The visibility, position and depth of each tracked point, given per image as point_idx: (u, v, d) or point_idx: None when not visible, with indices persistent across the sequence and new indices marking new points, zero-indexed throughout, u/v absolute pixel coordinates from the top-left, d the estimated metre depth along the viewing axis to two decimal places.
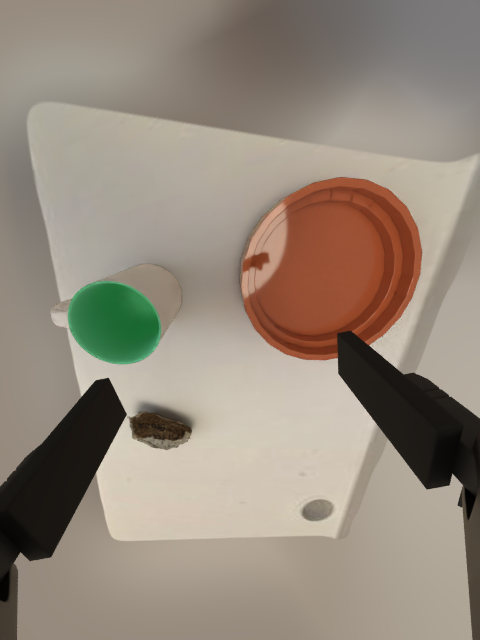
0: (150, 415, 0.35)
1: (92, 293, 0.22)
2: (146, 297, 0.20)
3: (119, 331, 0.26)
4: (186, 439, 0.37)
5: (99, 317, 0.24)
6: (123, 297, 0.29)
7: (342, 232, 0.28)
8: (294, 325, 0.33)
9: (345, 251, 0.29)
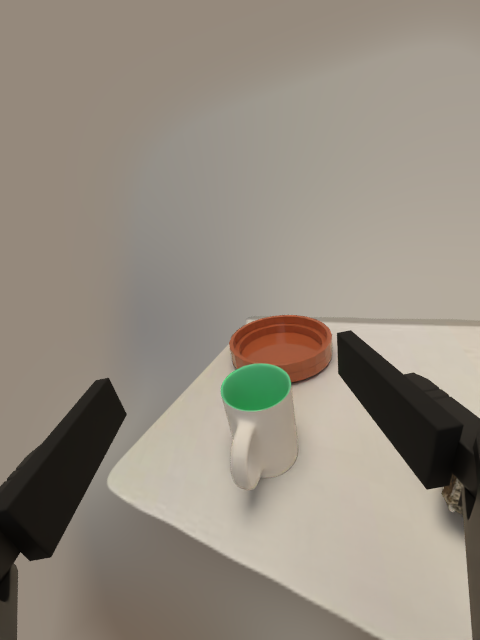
0: None
1: None
2: (243, 367, 0.30)
3: None
4: None
5: None
6: None
7: (259, 345, 0.54)
8: None
9: (269, 343, 0.53)
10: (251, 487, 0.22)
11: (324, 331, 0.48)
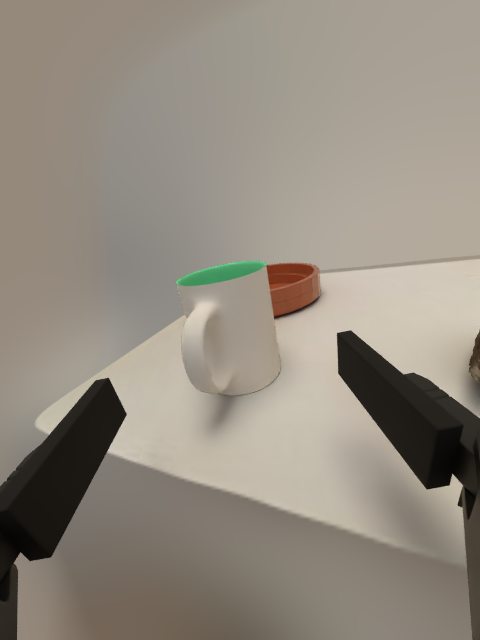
0: (472, 363, 0.16)
1: None
2: (209, 268, 0.24)
3: None
4: None
5: None
6: None
7: None
8: None
9: None
10: (213, 384, 0.16)
11: (311, 270, 0.43)
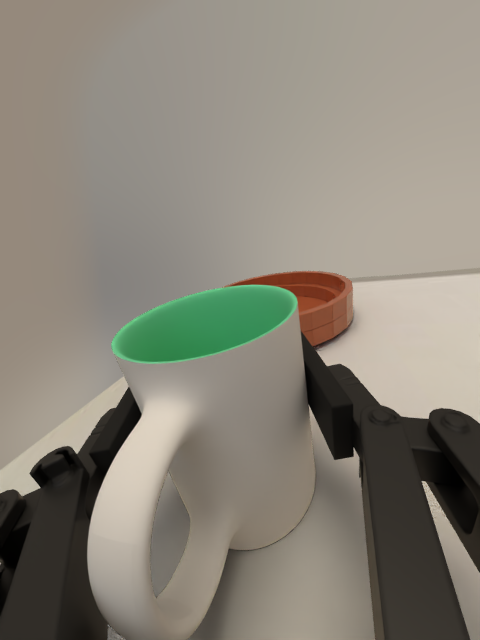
0: None
1: None
2: (189, 296, 0.14)
3: None
4: None
5: None
6: None
7: None
8: None
9: None
10: (182, 638, 0.06)
11: (338, 282, 0.32)
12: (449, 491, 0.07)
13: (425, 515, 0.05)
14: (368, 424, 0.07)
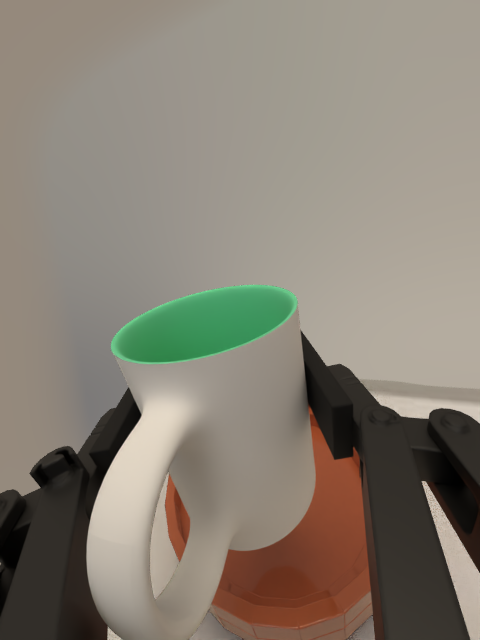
0: None
1: None
2: (189, 296, 0.14)
3: None
4: None
5: None
6: None
7: None
8: (354, 531, 0.19)
9: None
10: None
11: None
12: (449, 490, 0.07)
13: (425, 515, 0.05)
14: (368, 424, 0.07)
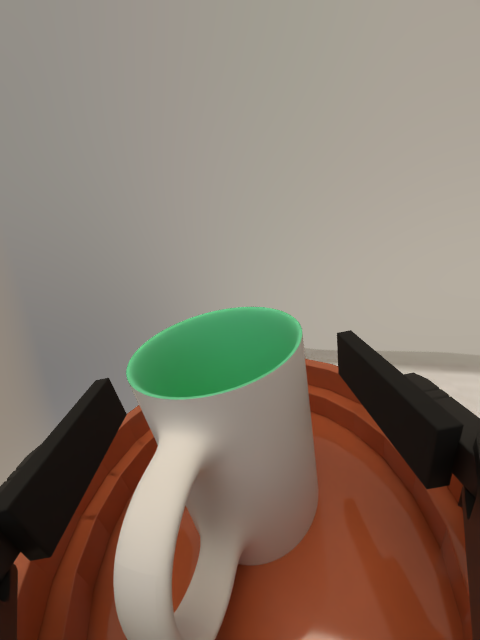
0: None
1: None
2: (196, 317, 0.15)
3: None
4: None
5: None
6: None
7: None
8: None
9: None
10: None
11: None
12: None
13: None
14: None
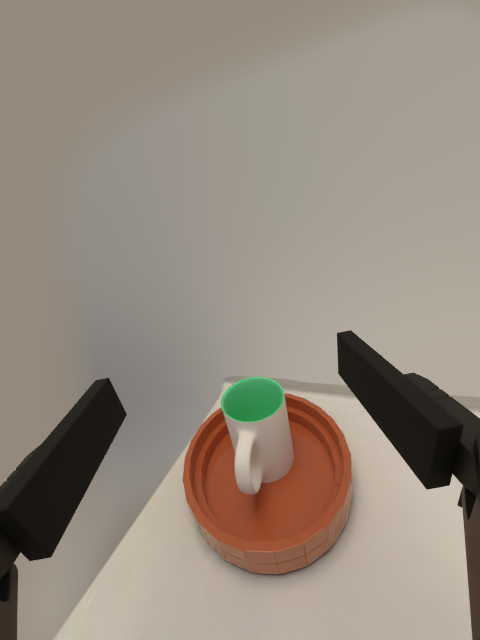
0: None
1: None
2: (240, 381, 0.33)
3: None
4: None
5: None
6: None
7: None
8: (321, 500, 0.27)
9: None
10: (254, 492, 0.25)
11: (336, 437, 0.30)
12: None
13: None
14: None
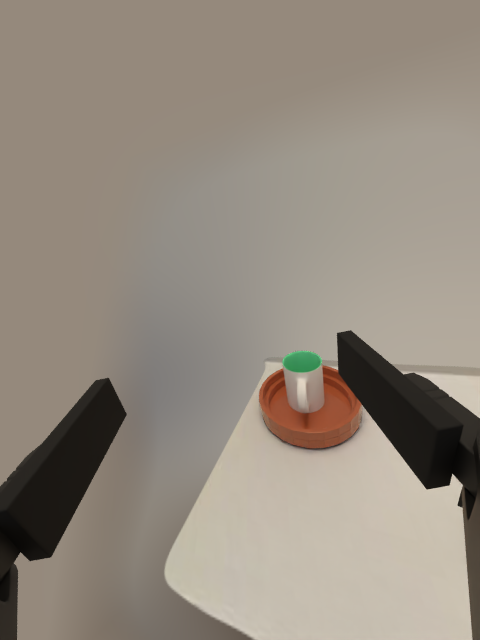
0: None
1: None
2: (290, 353, 0.52)
3: None
4: None
5: None
6: None
7: (285, 397, 0.55)
8: (344, 418, 0.46)
9: None
10: (307, 410, 0.45)
11: None
12: None
13: None
14: None
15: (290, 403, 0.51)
